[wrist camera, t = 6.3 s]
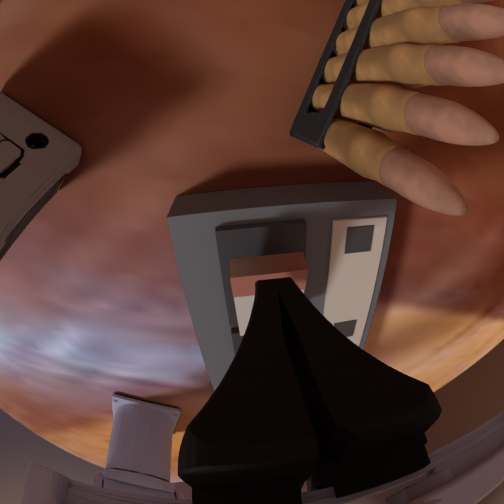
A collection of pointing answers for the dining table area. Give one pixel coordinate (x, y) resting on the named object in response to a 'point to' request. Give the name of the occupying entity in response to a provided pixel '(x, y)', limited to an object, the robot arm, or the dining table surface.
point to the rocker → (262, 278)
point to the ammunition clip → (401, 90)
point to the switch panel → (281, 242)
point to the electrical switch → (28, 167)
